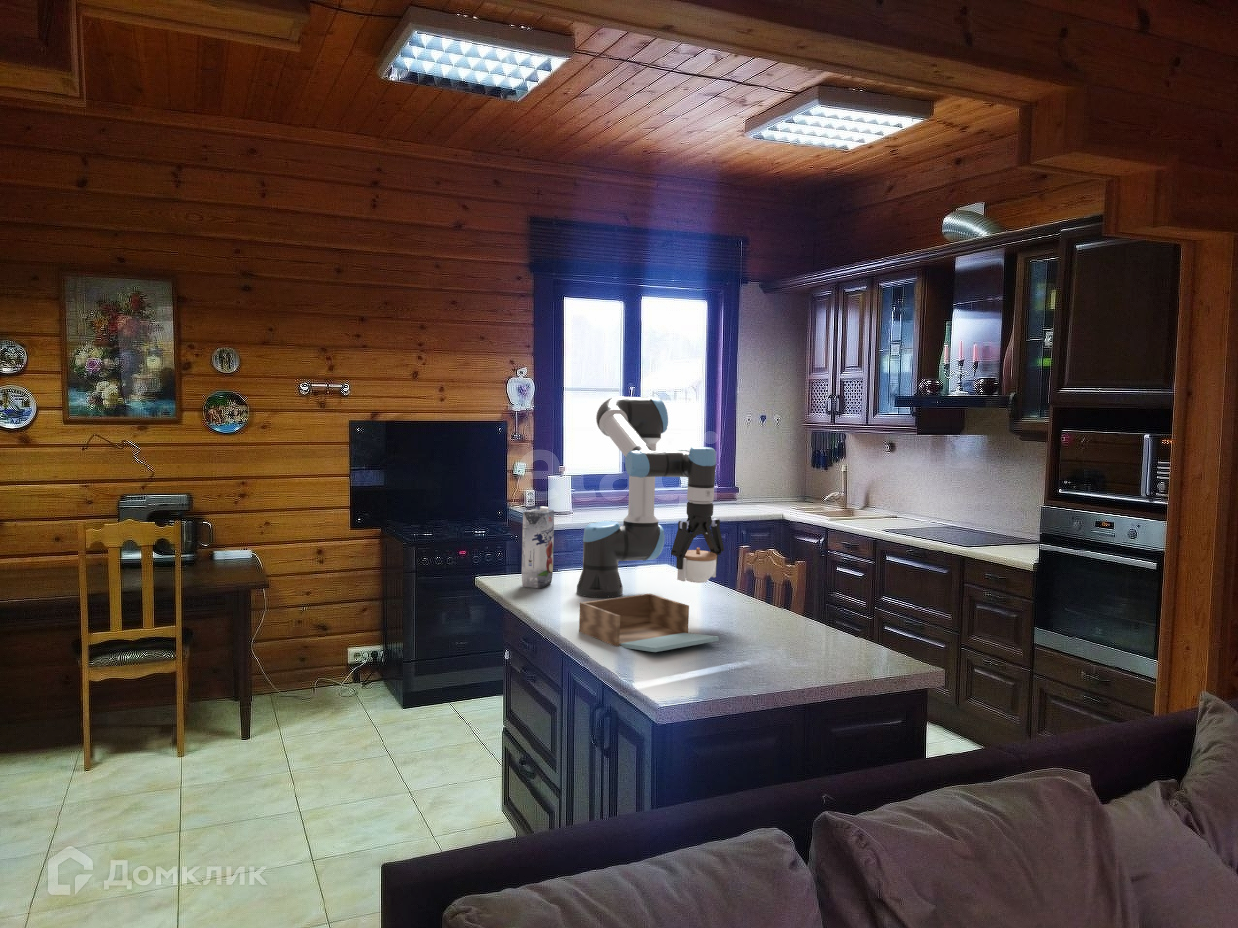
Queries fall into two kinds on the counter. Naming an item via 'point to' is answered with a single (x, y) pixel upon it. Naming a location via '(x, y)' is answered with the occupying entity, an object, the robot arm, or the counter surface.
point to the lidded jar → (699, 565)
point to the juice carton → (537, 547)
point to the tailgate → (669, 642)
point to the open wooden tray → (632, 618)
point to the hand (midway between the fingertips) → (696, 578)
